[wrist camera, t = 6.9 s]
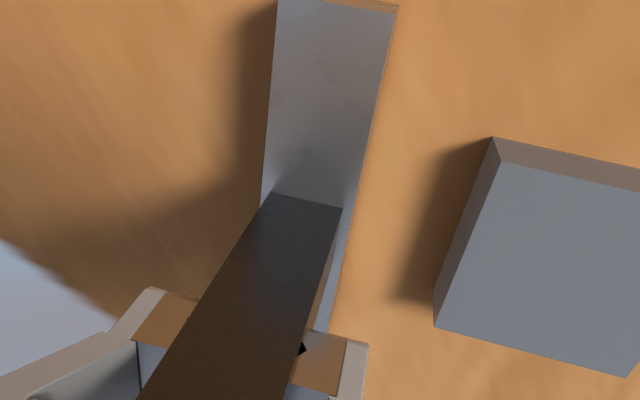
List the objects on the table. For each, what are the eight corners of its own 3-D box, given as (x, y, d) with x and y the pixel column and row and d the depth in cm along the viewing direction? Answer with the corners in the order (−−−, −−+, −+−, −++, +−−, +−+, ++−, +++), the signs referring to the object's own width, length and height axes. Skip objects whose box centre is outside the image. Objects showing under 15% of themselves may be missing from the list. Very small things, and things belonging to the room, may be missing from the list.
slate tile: (490, 132, 15) (501, 161, 13) (704, 179, 15) (751, 218, 12) (432, 284, 19) (433, 326, 17) (602, 328, 18) (625, 378, 16)
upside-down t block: (302, -13, 13) (-32, 77, 4) (399, 4, 13) (325, 155, 3) (264, 317, 21) (117, 653, 11) (327, 334, 20) (236, 695, 10)
